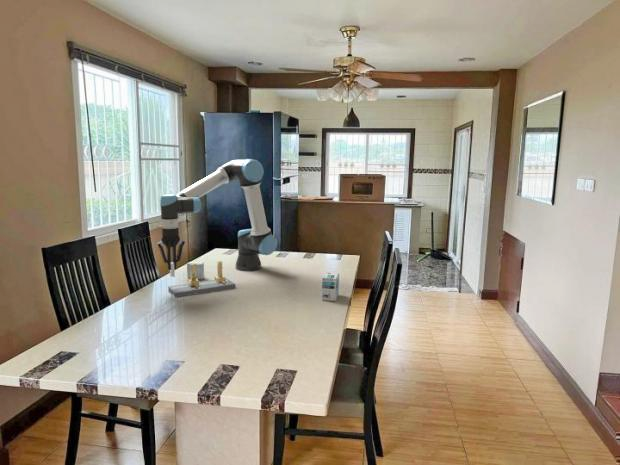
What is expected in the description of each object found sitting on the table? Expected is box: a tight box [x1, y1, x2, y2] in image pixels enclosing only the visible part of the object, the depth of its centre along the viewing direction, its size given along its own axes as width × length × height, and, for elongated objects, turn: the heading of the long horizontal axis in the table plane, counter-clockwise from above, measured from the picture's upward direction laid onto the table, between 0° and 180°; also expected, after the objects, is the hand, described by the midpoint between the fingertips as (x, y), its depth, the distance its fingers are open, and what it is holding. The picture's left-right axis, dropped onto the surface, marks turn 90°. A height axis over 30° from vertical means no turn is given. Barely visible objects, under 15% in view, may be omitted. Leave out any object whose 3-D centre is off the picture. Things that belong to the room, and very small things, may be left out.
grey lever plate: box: [167, 260, 236, 298], centre depth 217 cm, size 30×12×12 cm, turn 122°
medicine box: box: [186, 261, 205, 281], centre depth 236 cm, size 8×4×9 cm, turn 84°
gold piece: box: [187, 263, 200, 288], centre depth 215 cm, size 4×9×10 cm, turn 32°
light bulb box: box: [321, 272, 340, 302], centre depth 207 cm, size 11×7×11 cm, turn 168°
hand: (172, 276), depth 212 cm, fingers closed
